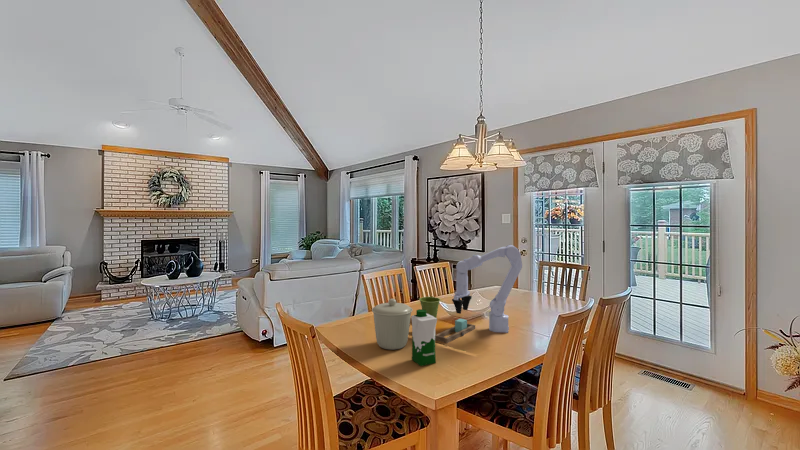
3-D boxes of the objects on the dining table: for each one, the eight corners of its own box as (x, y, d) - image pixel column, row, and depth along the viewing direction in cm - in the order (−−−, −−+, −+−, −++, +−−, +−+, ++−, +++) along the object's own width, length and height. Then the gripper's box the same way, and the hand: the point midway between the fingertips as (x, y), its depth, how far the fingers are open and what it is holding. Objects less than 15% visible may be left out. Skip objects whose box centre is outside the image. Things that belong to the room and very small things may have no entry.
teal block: (460, 329, 181) (460, 318, 181) (466, 331, 179) (467, 320, 179) (454, 331, 178) (455, 320, 177) (461, 333, 175) (461, 322, 175)
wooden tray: (461, 327, 187) (462, 322, 187) (476, 331, 182) (476, 325, 182) (433, 341, 167) (433, 334, 167) (448, 345, 162) (448, 339, 162)
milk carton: (427, 355, 151) (427, 307, 150) (439, 363, 143) (439, 313, 142) (408, 359, 147) (409, 310, 146) (420, 367, 139) (420, 316, 138)
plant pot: (415, 317, 205) (415, 297, 204) (433, 315, 210) (433, 295, 209) (425, 323, 194) (425, 302, 194) (444, 320, 199) (444, 300, 199)
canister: (366, 341, 167) (366, 296, 166) (402, 336, 174) (402, 292, 173) (380, 356, 150) (380, 305, 149) (419, 349, 157) (419, 301, 156)
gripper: (461, 281, 191) (461, 307, 192) (448, 286, 180) (448, 313, 180) (473, 283, 187) (473, 309, 188) (461, 288, 175) (461, 315, 176)
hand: (462, 311), depth 184 cm, fingers open, 7 cm apart
